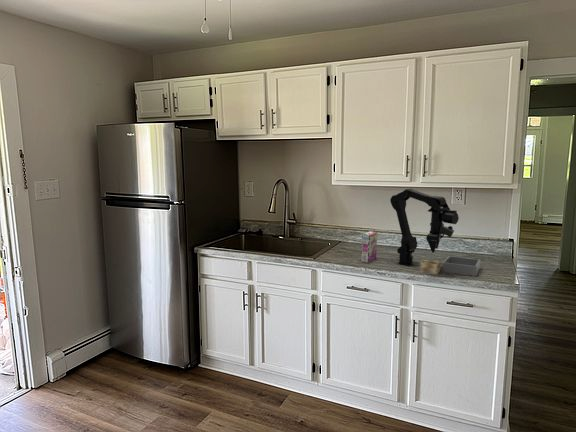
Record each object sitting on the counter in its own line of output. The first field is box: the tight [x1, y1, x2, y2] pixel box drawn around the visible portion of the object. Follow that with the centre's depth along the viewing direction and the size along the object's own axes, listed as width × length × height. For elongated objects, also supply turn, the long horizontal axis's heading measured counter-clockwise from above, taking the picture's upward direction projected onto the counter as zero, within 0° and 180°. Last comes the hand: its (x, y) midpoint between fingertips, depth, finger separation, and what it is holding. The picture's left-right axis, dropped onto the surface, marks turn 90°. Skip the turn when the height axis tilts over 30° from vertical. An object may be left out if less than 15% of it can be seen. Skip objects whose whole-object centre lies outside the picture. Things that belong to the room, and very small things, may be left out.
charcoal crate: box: [442, 255, 481, 277], centre depth 215 cm, size 16×16×5 cm
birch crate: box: [419, 259, 441, 275], centre depth 214 cm, size 9×6×5 cm
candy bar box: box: [360, 230, 378, 264], centre depth 234 cm, size 11×5×16 cm, turn 145°
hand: (434, 250), depth 213 cm, fingers open, 9 cm apart
